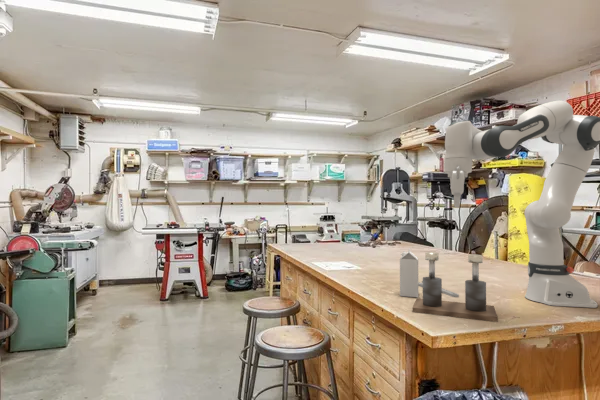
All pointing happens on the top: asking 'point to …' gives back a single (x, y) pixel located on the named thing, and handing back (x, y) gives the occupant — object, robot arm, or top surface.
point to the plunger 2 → (475, 265)
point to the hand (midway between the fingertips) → (456, 207)
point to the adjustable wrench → (443, 291)
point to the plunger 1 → (431, 262)
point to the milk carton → (409, 274)
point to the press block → (469, 309)
